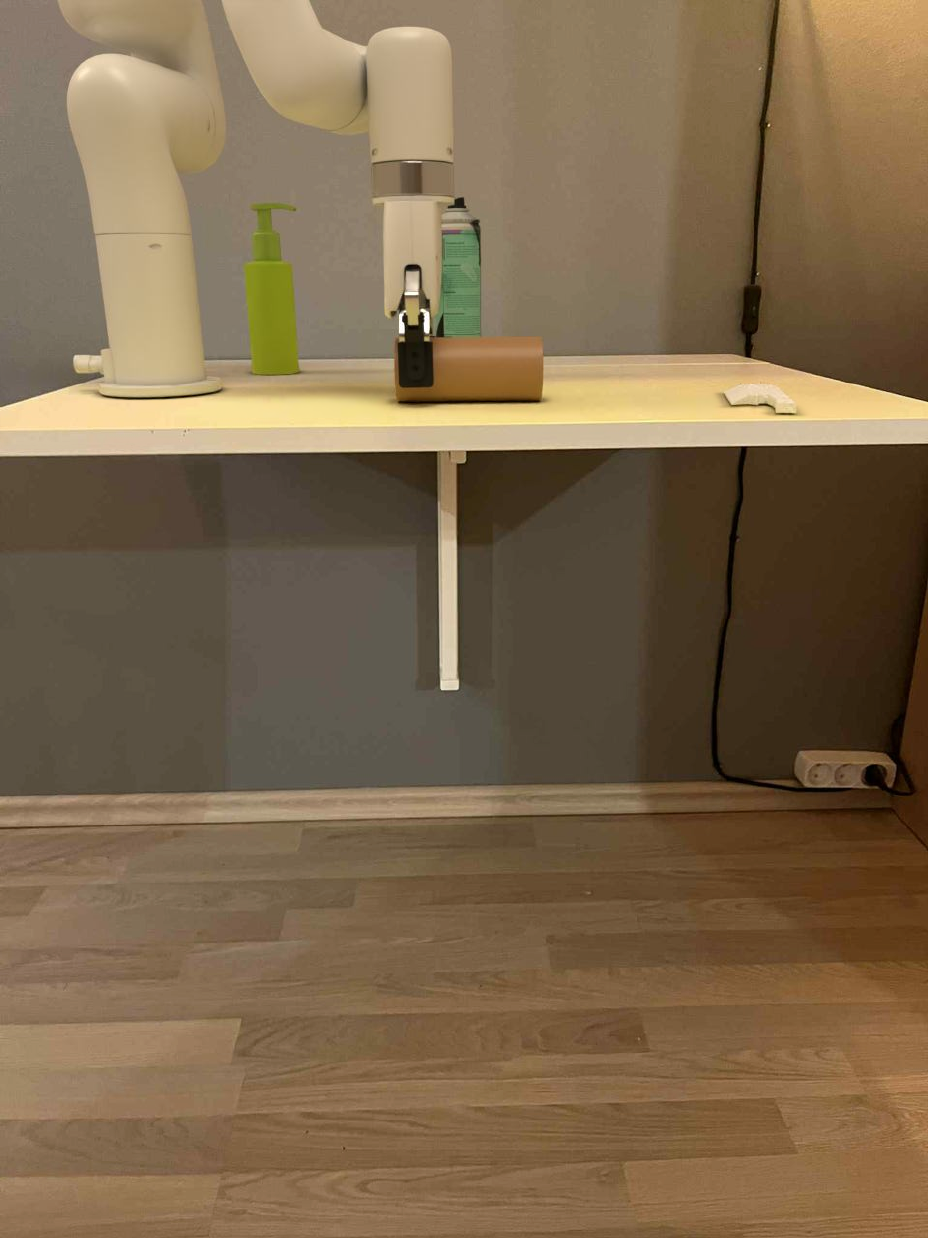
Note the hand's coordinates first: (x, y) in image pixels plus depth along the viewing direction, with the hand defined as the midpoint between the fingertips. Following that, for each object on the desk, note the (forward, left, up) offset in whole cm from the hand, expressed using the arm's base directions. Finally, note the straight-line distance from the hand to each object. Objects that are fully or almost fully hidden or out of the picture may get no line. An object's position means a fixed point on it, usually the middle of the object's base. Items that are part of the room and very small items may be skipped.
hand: (418, 381), depth 92 cm
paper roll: (+5, 0, -2) cm, 5 cm away
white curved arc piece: (+32, -4, -2) cm, 32 cm away
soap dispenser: (-19, +31, -2) cm, 36 cm away
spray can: (+4, +24, -2) cm, 24 cm away
